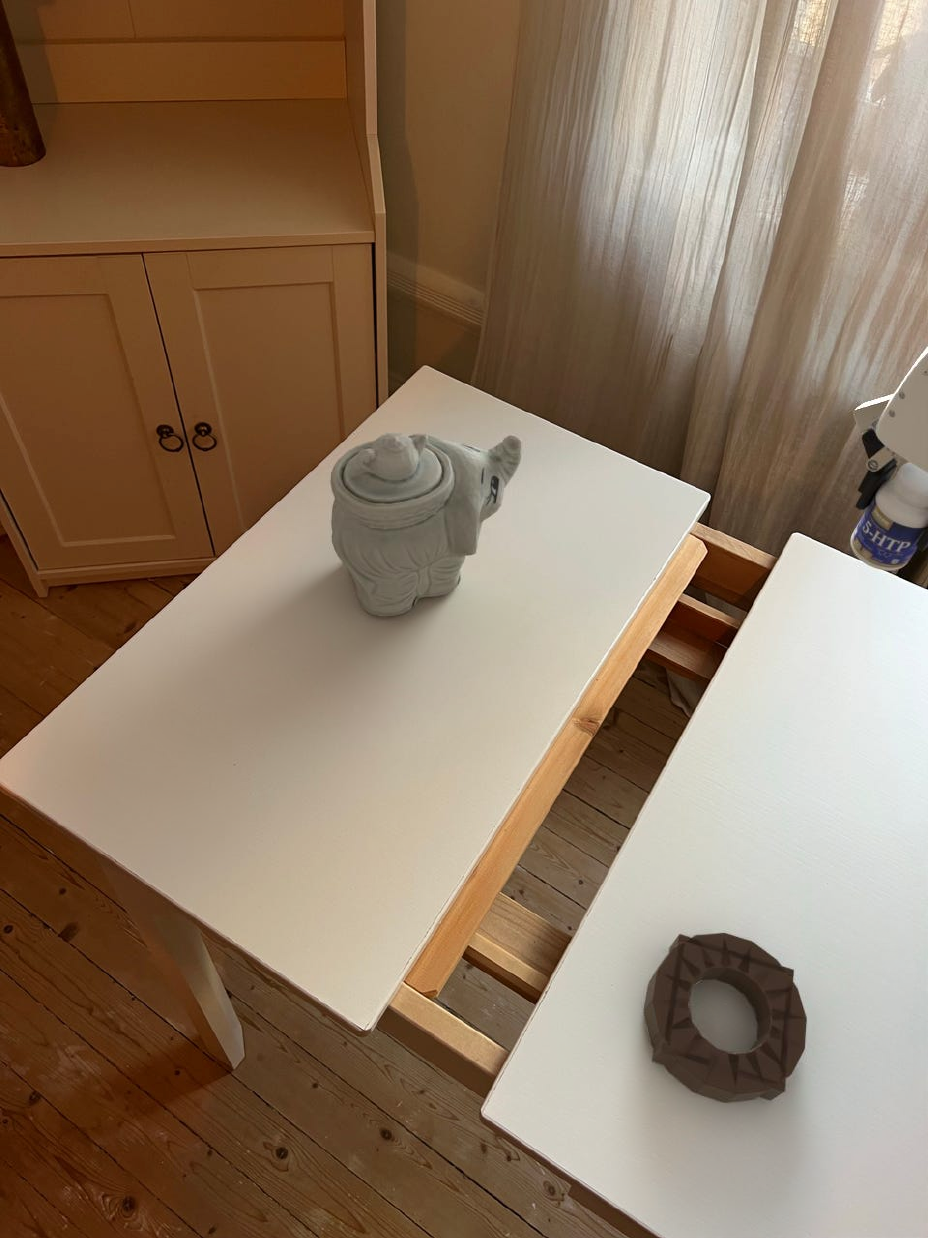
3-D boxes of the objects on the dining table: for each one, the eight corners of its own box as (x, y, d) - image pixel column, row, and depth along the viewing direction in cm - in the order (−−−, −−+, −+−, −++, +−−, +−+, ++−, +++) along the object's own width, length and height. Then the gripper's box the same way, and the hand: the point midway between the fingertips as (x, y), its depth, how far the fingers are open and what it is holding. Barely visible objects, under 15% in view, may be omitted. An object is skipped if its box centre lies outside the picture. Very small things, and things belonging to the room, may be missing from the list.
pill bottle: (840, 553, 85) (881, 480, 78) (861, 520, 88) (902, 446, 81) (897, 582, 83) (944, 509, 76) (917, 547, 86) (964, 474, 79)
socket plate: (657, 927, 78) (666, 914, 75) (796, 971, 76) (810, 959, 74) (632, 1073, 71) (642, 1063, 68) (785, 1123, 70) (800, 1115, 67)
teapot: (508, 533, 103) (533, 394, 88) (484, 644, 93) (508, 509, 79) (358, 504, 103) (357, 361, 89) (320, 611, 94) (313, 472, 79)
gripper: (1143, 385, 66) (1007, 559, 81) (926, 271, 73) (837, 449, 88) (1095, 429, 63) (963, 603, 77) (873, 306, 70) (790, 485, 84)
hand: (897, 520), depth 82 cm, fingers closed on pill bottle, 5 cm apart
